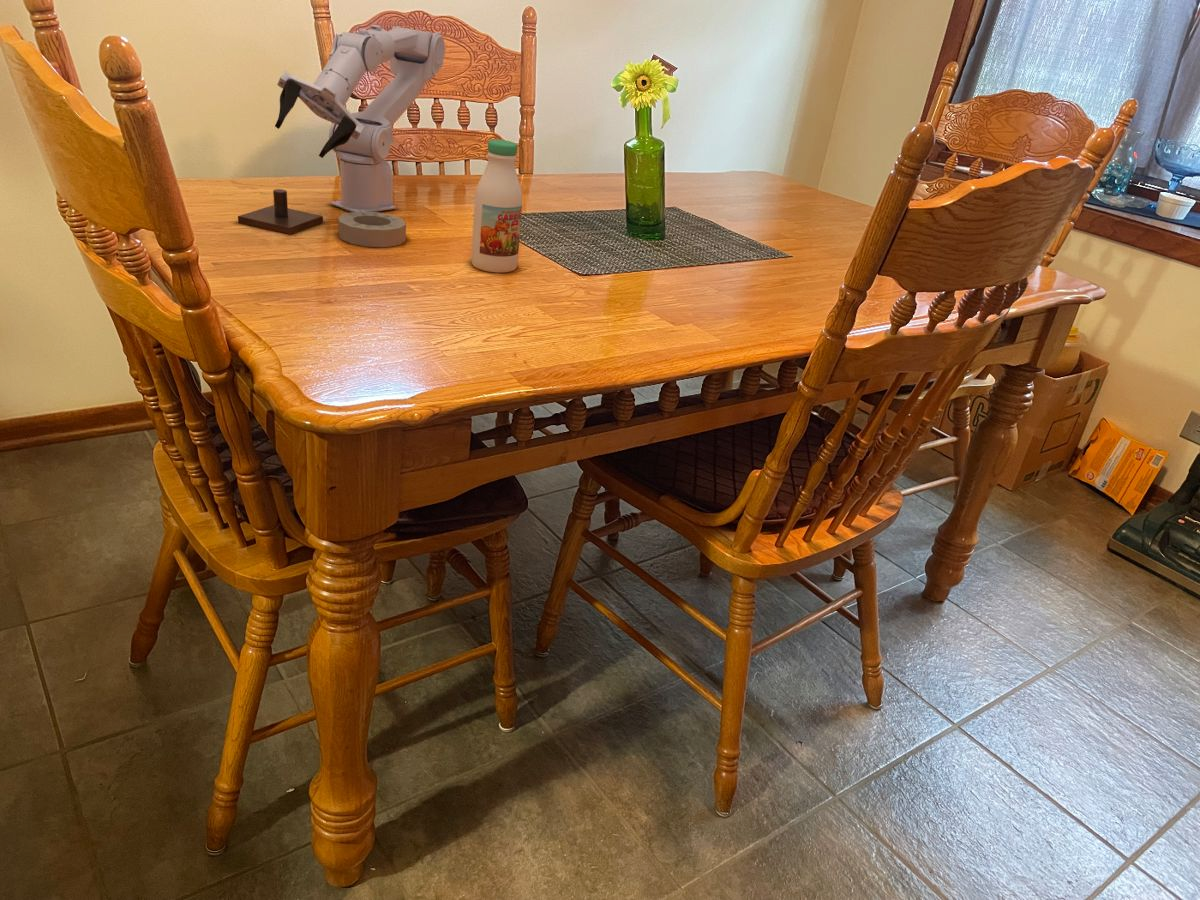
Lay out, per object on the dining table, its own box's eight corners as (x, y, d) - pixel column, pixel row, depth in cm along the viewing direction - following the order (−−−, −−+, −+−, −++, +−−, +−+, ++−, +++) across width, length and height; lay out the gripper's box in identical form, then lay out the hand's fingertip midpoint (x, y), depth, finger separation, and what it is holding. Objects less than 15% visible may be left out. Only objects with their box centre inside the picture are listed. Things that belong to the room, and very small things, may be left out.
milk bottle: (462, 266, 136) (469, 139, 126) (484, 256, 142) (492, 134, 133) (503, 277, 134) (513, 149, 124) (524, 266, 140) (535, 144, 131)
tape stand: (273, 211, 148) (271, 180, 146) (323, 222, 147) (322, 191, 144) (238, 223, 140) (235, 190, 137) (290, 234, 138) (288, 201, 136)
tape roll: (378, 225, 150) (378, 209, 148) (417, 242, 144) (418, 225, 143) (326, 232, 142) (325, 215, 140) (365, 250, 136) (365, 232, 135)
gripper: (302, 41, 134) (264, 96, 128) (381, 99, 140) (348, 153, 134) (290, 68, 140) (253, 121, 133) (367, 122, 146) (335, 175, 139)
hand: (300, 139), depth 134 cm, fingers open, 7 cm apart
